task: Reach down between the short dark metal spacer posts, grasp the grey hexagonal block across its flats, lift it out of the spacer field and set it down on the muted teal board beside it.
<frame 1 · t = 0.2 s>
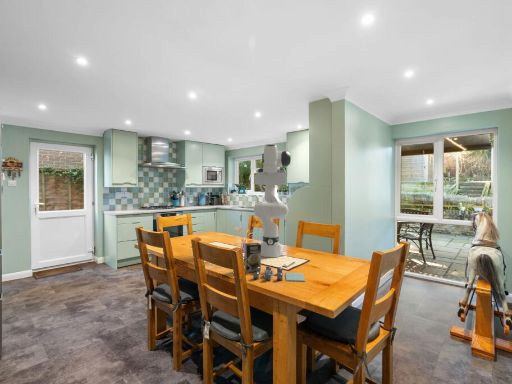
hand: (270, 192, 164), 47 cm above the table, fingers open, 8 cm apart
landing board: (294, 277, 147), on the table
coffee box: (252, 270, 159), on the table
grey hexagonal block: (268, 276, 149), on the table
spacer field: (268, 276, 149), on the table
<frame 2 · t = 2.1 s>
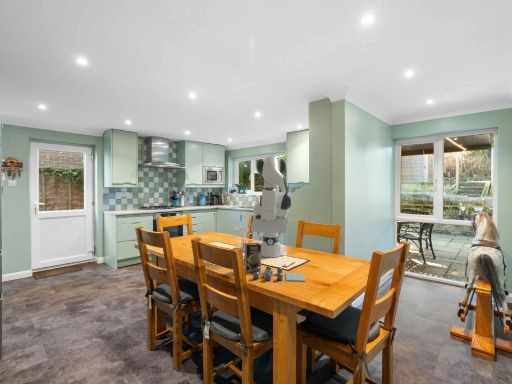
hand: (268, 240, 148), 21 cm above the table, fingers open, 8 cm apart
nothing on the table moved.
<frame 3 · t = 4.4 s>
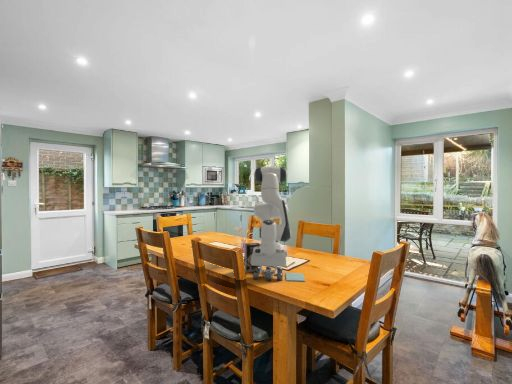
hand: (268, 273, 149), 2 cm above the table, fingers closed on grey hexagonal block, 5 cm apart
grey hexagonal block: (268, 276, 149), on the table, touching gripper
everything else where it was.
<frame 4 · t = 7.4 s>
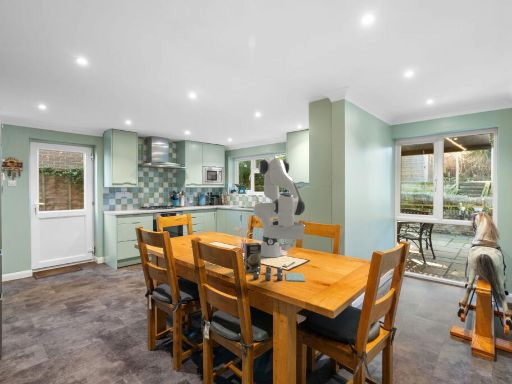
hand: (285, 246, 147), 17 cm above the table, fingers closed on grey hexagonal block, 5 cm apart
grey hexagonal block: (285, 249, 147), point 16 cm above the table, touching gripper
everything else where it was.
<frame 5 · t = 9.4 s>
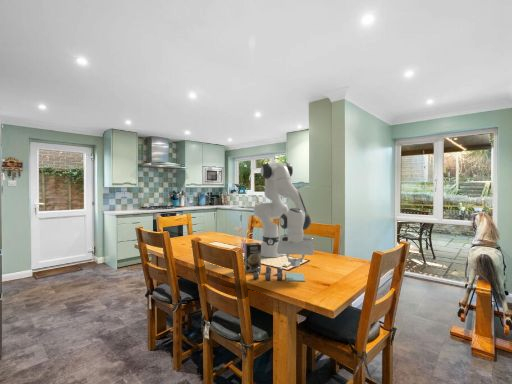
hand: (295, 262, 147), 9 cm above the table, fingers closed on grey hexagonal block, 5 cm apart
grey hexagonal block: (295, 265, 147), point 7 cm above the table, touching gripper
everything else where it was.
when the fingers open (4 cm above the table, at t = 10.8 s): grey hexagonal block drops 1 cm, resting on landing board.
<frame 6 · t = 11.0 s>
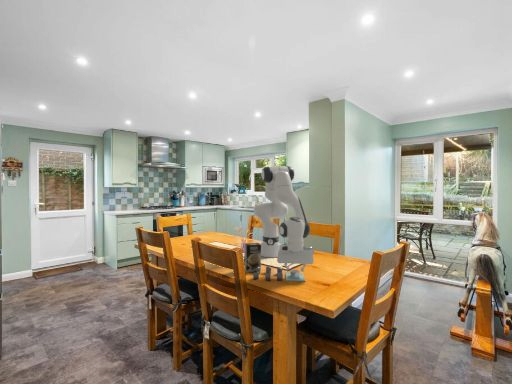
hand: (294, 271, 147), 4 cm above the table, fingers open, 7 cm apart
grey hexagonal block: (294, 276, 147), point 1 cm above the table, touching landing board
everything else where it was.
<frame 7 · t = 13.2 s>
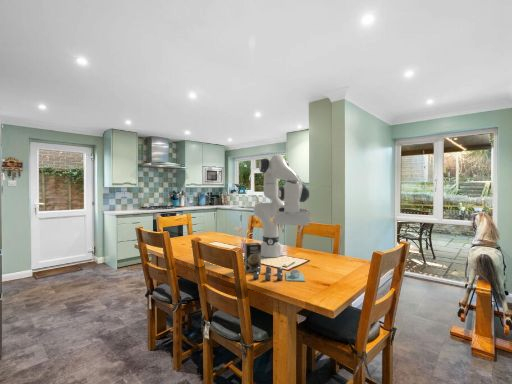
hand: (291, 232, 150), 25 cm above the table, fingers open, 8 cm apart
nothing on the table moved.
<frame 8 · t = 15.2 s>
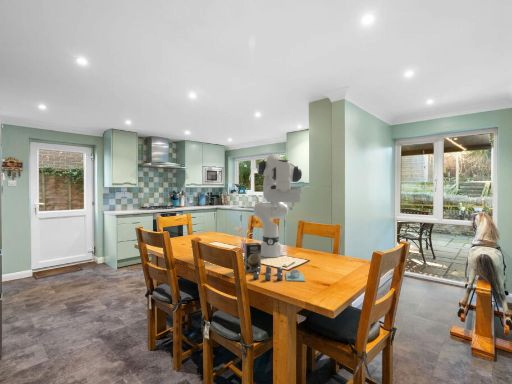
hand: (283, 209, 156), 37 cm above the table, fingers open, 8 cm apart
nothing on the table moved.
at the end: grey hexagonal block inside the target area (0.0 cm from its centre), point 0.6 cm above the table; grey hexagonal block tilted 0°; the gripper is holding nothing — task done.
